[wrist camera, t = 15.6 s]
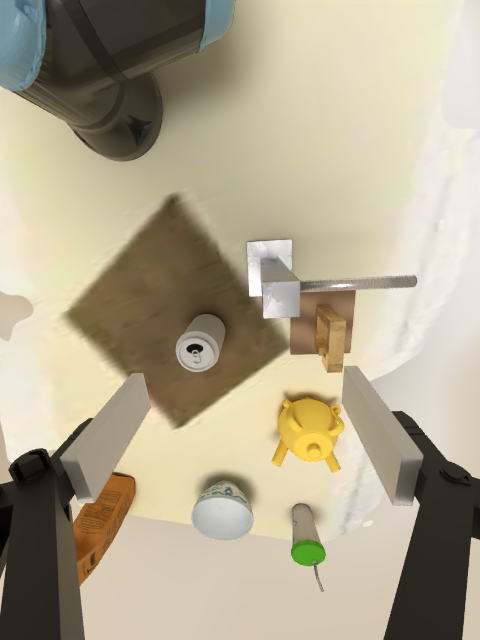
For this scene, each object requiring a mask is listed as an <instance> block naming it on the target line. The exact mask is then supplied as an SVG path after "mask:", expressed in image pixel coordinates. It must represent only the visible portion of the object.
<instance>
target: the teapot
mask: <svg viewBox="0 0 480 640" xmlns="http://www.w3.org/2000/svg"><path fill="white" fill-rule="evenodd" d="M282 404H283V406H284V407H285V408H284V409H283V411H282V412H281V414H280V416H279V418H278V430H279V434H280V436H281V440H280V443H279V445H278V447H277V450H276V452H275V454H274V457H273V459H272V463H273V464H275V465H276V466H279V467H280V466H281V464H282V462H283V459H284V457H285V455H286V453H287V450H288V449H289V450H290V451H291V452H292V453H293V454H295V455H296V456H297V457H299V458H300V459H302V460H304V461H308V462H317V461H320V460H323V459H325V460H326V462H327V464H328V466H329V468H330V470H331V472H332V473H333V472H336V471H338V470H340V469H341V468H340V466H339V464H338V462H337V459H336V457H335V455H334V453H333V451H332V450H333V448H334V446H335V444H336V441H337V436H338V435H339V434H340V433H341V432H342V431H343V430H344V423H343V421H342V419H341V418H340V417H339V416H338V414H340V412H341V409H340V407H339V406H338V405H332V406H331V407H330V408H329V407H328V406H327V405H326V404H324V403H322V402H320V401H317V400H312V398H311V397H309V396H306V397H304V398H303V399H302V400H298V401H295V402H293V403H291V402H290V401H289V400H284V401H283V403H282ZM336 419H337V420H338V422H339V424H337V420H336Z"/></svg>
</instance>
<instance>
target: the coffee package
mask: <svg viewBox="0 0 480 640" xmlns="http://www.w3.org/2000/svg"><path fill="white" fill-rule="evenodd" d="M134 493H135V487H134V479H133V478H131V477H121V476H116V475H113V474H111V476H110V477H109V479H108V481H107V483H106V484H105V486H104V488H103V489H102V491H101V493H100V494H99V496H98V498H97V499H96V501H95V503H85V505H84V506H83V508H82V509H81V511H80V513H79V515H78V516H77V518H76V520H75V521H74V523H73V529H74V539H75V549H76V558H77V568H78V578H79V586H80V585H81V584H82V583H83V582H84V581H85V579H87V578H88V576H89V575H90V574H91V573H92V571H93V570H94V569H95V567H96V566H97V565H98V563H99V562H100V560H101V558H102V557H103V555H104V554H105V552H106V551H107V549H108V548H109V546H110V544H111V543H112V541H113V540H114V538H115V536H116V534H117V532H118V530H119V528H120V527H121V524H122V522H123V520H124V518H125V516H126V514H127V512H128V510H129V508H130V505H131V503H132V501H133V498H134Z"/></svg>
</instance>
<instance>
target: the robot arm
mask: <svg viewBox="0 0 480 640" xmlns="http://www.w3.org/2000/svg"><path fill="white" fill-rule="evenodd" d="M234 9H235V0H0V85H1V86H2V87H3V88H5V89H7V90H10V91H12V92H13V93H15V94H17V95H19V96H21V97H22V98H24V99H26V100H28V101H30V102H31V103H33V104H35V105H37V106H39V107H40V108H42V109H44V110H46V111H48V112H49V113H51V114H53V115H55V116H57V117H58V118H60V119H62V120H64V121H65V122H66V123H67V124H68V125H69V126H70V128H71V129H72V130H73V131H74V133H75V134H76V135H77V136H78V138H79V139H80V140H81V141H82V142H83V143H84V144H85V145H86V146H88V147H89V148H90V149H92V150H93V151H95V152H96V153H98V154H100V155H102V156H104V157H106V158H109V159H112V160H116V161H129V160H133V159H136V158H138V157H140V156H142V155H143V154H144V153H146V152H147V151H148V150H149V149H150V148H151V146H152V145H153V143H154V142H155V140H156V138H157V136H158V133H159V130H160V127H161V121H162V102H161V96H160V92H159V89H158V86H157V83H156V81H155V79H154V77H153V75H152V73H151V72H150V71H151V70H154V69H156V68H159V67H161V66H163V65H166V64H168V63H171V62H173V61H175V60H178V59H180V58H182V57H185V56H187V55H190V54H192V53H194V52H195V53H199V52H200V51H202V50H203V48H204V47H205V46H207V45H209V44H211V43H213V42H215V41H217V40H219V39H221V38H222V37H224V35H225V34H226V33H227V32H228V30H229V28H230V27H231V24H232V21H233V16H234ZM342 404H343V406H344V408H345V410H346V412H347V414H348V416H349V418H350V420H351V422H352V424H353V426H354V428H355V430H356V432H357V434H358V436H359V438H360V440H361V442H362V444H363V446H364V448H365V450H366V452H367V454H368V456H369V458H370V460H371V462H372V464H373V466H374V468H375V470H376V472H377V474H378V476H379V478H380V480H381V482H382V484H383V486H384V488H385V490H386V492H387V494H388V496H389V499H390V501H391V503H392V504H393V506H395V505H396V506H402V505H403V506H412V505H413V500H414V496H415V497H416V499H417V500H418V502H419V504H420V507H419V511H418V514H417V518H416V521H415V525H414V529H413V532H412V536H411V540H410V544H409V547H408V551H407V555H406V558H405V562H404V566H403V569H402V573H401V577H400V581H399V584H398V588H397V592H396V595H395V599H394V603H393V606H392V610H391V614H390V617H389V621H388V625H387V629H386V632H385V636H384V640H462V635H463V624H464V612H465V600H466V590H467V577H468V566H469V555H470V544H471V537H473V538H476V539H479V540H480V479H477V478H474V477H472V476H471V475H470V473H468V472H467V471H466V470H465V469H464V468H462V467H460V466H459V465H457V464H455V463H452V462H449V461H447V460H446V459H445V457H444V456H443V455H442V454H441V452H440V451H439V450H438V449H437V448H436V446H435V445H434V444H433V443H432V442H431V440H430V439H429V438H428V437H427V435H425V433H424V432H423V431H422V430H421V428H419V426H418V425H417V423H416V422H415V421H414V420H413V419H412V418H411V417H410V416H408V415H407V414H405V413H404V412H402V411H390V409H389V408H388V407H387V406H386V404H385V403H384V401H383V400H382V399H381V397H380V396H379V395H378V393H377V392H376V391H375V389H374V388H373V387H372V385H371V384H370V383H369V381H368V380H367V379H366V377H365V376H364V375H363V373H362V372H361V370H360V369H359V368H358V366H344V378H343V392H342ZM150 408H151V405H150V401H149V396H148V392H147V388H146V383H145V379H144V375H143V373H133V374H131V375H130V377H129V378H128V379H127V380H126V381H125V382H124V384H123V385H122V386H121V387H120V388H119V389H118V391H117V392H116V393H115V394H114V395H113V396H112V398H111V399H110V400H109V401H108V402H107V403H106V405H105V406H104V407H103V408H102V409H101V410H100V412H99V413H98V414H97V415H96V416H95V417H94V418H89V419H87V420H86V421H85V422H83V423H82V424H80V425H79V426H78V427H77V429H76V430H75V431H74V432H73V434H71V435H70V436H69V437H68V439H67V440H66V441H65V442H64V443H63V444H62V445H61V446H60V447H59V449H58V450H57V451H56V452H55V453H54V454H53V455H52V456H51V457H49V455H48V453H47V450H46V449H43V448H41V449H35V450H32V451H29V452H27V453H25V454H23V455H22V456H20V457H19V458H17V459H16V460H15V461H14V462H13V463H12V464H11V465H10V468H9V472H10V474H11V476H12V478H13V480H14V481H11V482H8V483H4V484H0V578H1V575H2V572H3V570H4V567H5V565H6V571H5V579H4V587H3V596H2V604H1V612H0V640H85V637H84V626H83V617H82V608H81V597H80V588H79V578H78V568H77V558H76V549H75V539H74V529H73V519H72V511H71V505H70V503H69V502H70V500H71V499H72V497H73V496H74V494H75V495H76V498H77V500H78V503H95V501H96V499H97V498H98V496H99V494H100V493H101V491H102V489H103V488H104V486H105V484H106V483H107V481H108V479H109V477H110V476H111V474H112V472H113V471H114V469H115V467H116V466H117V464H118V462H119V460H120V459H121V457H122V455H123V454H124V452H125V450H126V449H127V447H128V445H129V444H130V442H131V440H132V438H133V437H134V435H135V433H136V432H137V430H138V428H139V427H140V425H141V423H142V421H143V420H144V418H145V416H146V415H147V413H148V411H149V410H150Z"/></svg>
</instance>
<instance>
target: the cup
mask: <svg viewBox="0 0 480 640" xmlns="http://www.w3.org/2000/svg"><path fill="white" fill-rule="evenodd" d="M291 555H292V557H293V559H294V561H295V562H297V563H299V564H300V565H306V566H313V565H314V569H315V575H316V579H317V581H318V584H319V587H320V589H321V592H323V591H324V590H323V588H322V585H321V583H320V580H319V577H318V572H317V566H316V565H318V564H319V563H321V562H322V561H324V559H325V556H326V554H325V550H324V548H323V546H322V545H321V542H320V539H319V536H318V533H317V530H316V527H315V524H314V521H313V518H312V515H311V512H310V509H309V506H307V505H306V504H296V505H295V506H294V507H293V546H292V550H291Z"/></svg>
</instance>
